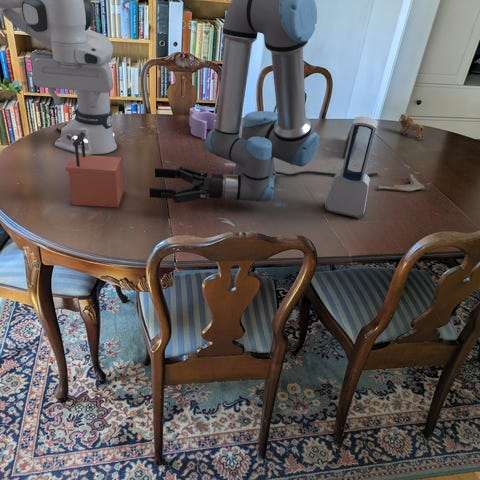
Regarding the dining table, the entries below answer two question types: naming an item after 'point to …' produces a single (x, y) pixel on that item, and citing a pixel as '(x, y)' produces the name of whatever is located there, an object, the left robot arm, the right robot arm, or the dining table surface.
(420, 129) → the lion figurine
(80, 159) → the lid
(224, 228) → the dining table surface
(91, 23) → the left robot arm
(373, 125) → the electronic device
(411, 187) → the jawbone
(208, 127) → the clip
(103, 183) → the chest
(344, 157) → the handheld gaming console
